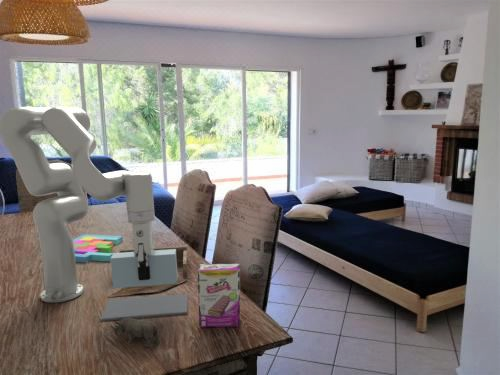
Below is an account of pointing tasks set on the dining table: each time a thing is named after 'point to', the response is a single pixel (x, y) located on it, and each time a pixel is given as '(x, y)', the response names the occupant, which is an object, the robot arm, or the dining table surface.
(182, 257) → the open wooden box
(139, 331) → the rhino figurine
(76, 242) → the tetris game
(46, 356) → the dining table surface
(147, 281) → the pale blue rectangular block
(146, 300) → the mat
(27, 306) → the dining table surface
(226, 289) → the candy bar box
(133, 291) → the fossil stone slab
